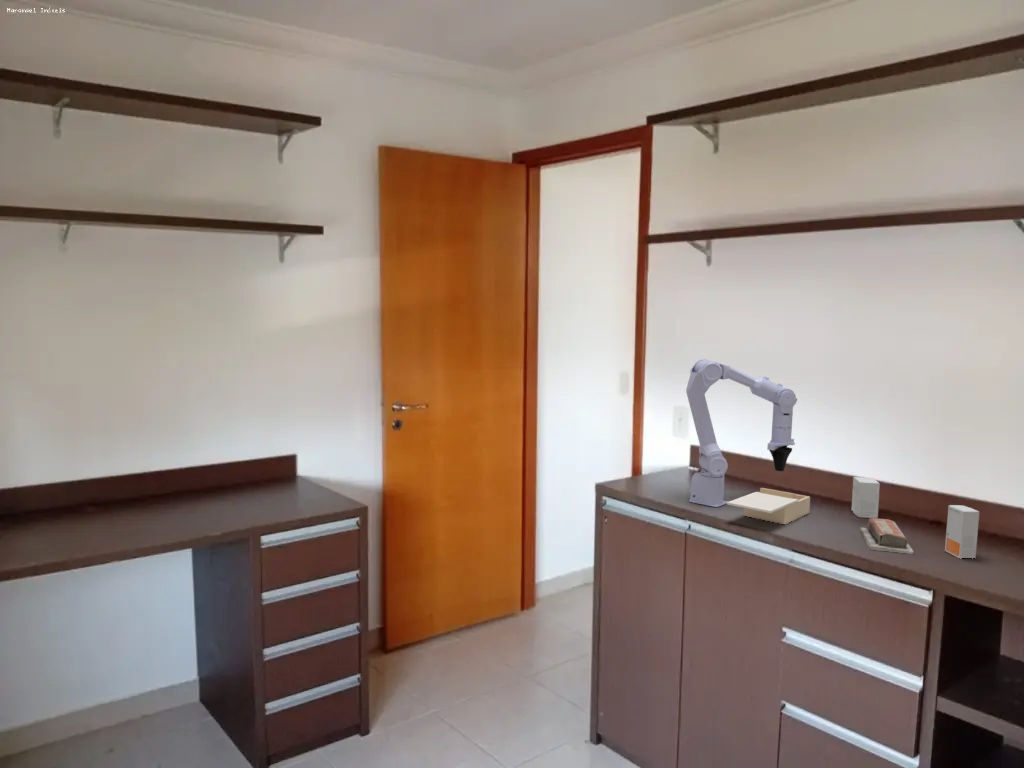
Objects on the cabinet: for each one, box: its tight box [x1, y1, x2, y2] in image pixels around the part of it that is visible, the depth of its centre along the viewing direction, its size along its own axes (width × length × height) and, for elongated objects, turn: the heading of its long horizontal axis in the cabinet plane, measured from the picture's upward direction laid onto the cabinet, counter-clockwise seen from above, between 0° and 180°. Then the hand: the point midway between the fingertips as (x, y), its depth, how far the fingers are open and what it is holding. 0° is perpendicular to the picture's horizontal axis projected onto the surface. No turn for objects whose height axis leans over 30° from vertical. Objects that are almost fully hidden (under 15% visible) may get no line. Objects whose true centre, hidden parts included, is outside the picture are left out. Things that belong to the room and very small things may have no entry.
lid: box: [726, 487, 798, 513], centre depth 216 cm, size 13×19×2 cm, turn 138°
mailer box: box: [743, 493, 811, 525], centre depth 224 cm, size 12×18×5 cm, turn 138°
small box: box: [851, 476, 881, 519], centre depth 226 cm, size 8×6×10 cm
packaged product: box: [860, 517, 915, 555], centre depth 199 cm, size 18×5×10 cm
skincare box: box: [944, 504, 980, 560], centre depth 189 cm, size 6×4×12 cm
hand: (779, 470), depth 236 cm, fingers closed
